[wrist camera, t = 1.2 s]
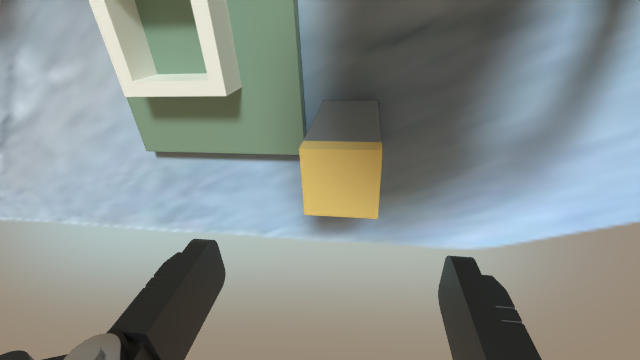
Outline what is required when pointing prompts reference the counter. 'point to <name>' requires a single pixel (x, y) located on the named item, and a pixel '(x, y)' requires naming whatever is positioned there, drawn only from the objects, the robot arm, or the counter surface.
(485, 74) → the counter surface
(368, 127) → the plug
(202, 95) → the header board
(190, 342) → the robot arm
